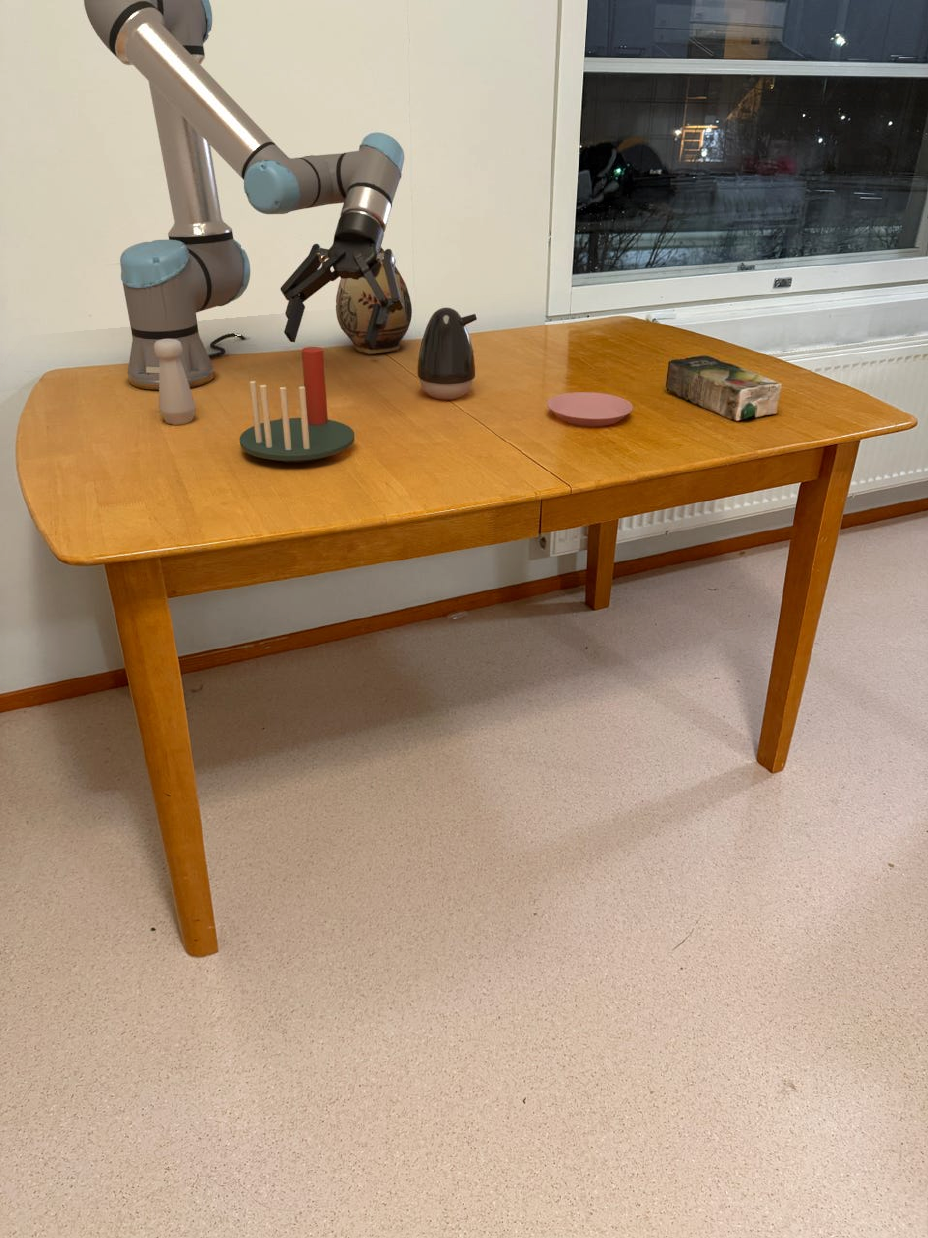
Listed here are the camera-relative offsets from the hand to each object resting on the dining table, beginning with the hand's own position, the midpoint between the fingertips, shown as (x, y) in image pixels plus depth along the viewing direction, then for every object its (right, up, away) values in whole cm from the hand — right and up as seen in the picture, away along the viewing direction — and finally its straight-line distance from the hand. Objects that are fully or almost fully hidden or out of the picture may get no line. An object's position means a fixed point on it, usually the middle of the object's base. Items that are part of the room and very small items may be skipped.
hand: (328, 341), depth 144 cm
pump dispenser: (+18, -4, +20) cm, 28 cm away
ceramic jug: (+3, +12, +47) cm, 49 cm away
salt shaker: (-25, -11, +7) cm, 29 cm away
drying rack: (-4, -18, -5) cm, 19 cm away
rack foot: (-4, -18, -5) cm, 19 cm away
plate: (+42, -9, +11) cm, 45 cm away
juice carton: (+66, -6, +18) cm, 69 cm away
